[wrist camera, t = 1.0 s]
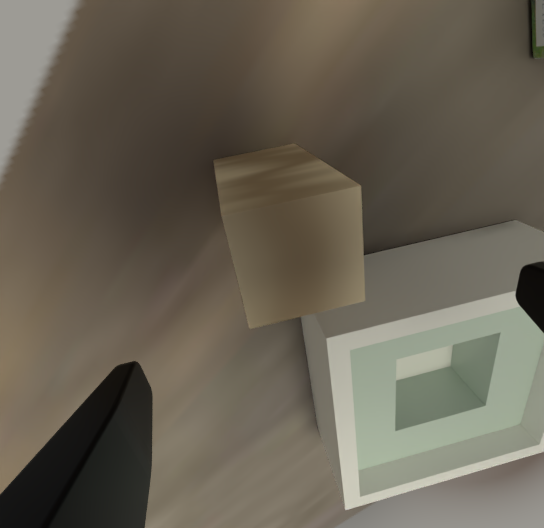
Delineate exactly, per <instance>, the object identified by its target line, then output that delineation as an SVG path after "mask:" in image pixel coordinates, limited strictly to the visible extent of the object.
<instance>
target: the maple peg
mask: <svg viewBox="0 0 544 528" xmlns="http://www.w3.org/2000/svg"><path fill="white" fill-rule="evenodd" d="M213 162H214V169H215V176H216V183H217V189H218V196H219V203H220V210H221V216H222V220H223V224H224V228H225V232H226V236H227V240H228V245H229V249H230V253H231V257H232V261H233V265H234V269H235V273H236V277H237V281H238V285H239V289H240V293H241V297H242V301H243V305H244V309H245V313H246V317H247V321H248V326H249V329H253V328H257V327H261V326H265V325H269V324H273V323H277V322H281V321H286V320H290V319H294V318H298V317H302V316H306V315H310V314H314V313H318V312H322V311H326V310H330V309H335V308H339V307H343V306H347V305H351V304H355V303H359V302H363V301H365V277H364V250H363V223H362V196H361V185H359V184H358V183H356V182H355V181H353V180H352V179H350V178H348V177H347V176H345V175H344V174H342V173H341V172H339V171H337V170H336V169H334V168H333V167H331V166H330V165H328V164H326V163H325V162H323V161H322V160H320V159H319V158H317V157H315V156H314V155H312V154H311V153H309V152H308V151H306V150H304V149H303V148H301V147H300V146H298V145H297V144H295V143H294V144H289V145H284V146H279V147H274V148H269V149H264V150H259V151H254V152H249V153H245V154H240V155H235V156H230V157H225V158H220V159H215V160H213Z"/></svg>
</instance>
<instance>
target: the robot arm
mask: <svg viewBox="0 0 544 528" xmlns="http://www.w3.org/2000/svg"><path fill="white" fill-rule="evenodd" d="M515 296H516V300H517V302H518V304H519V305H520V307H521V308H522V309H523V310H524V311H525V312H526V314H527V315H528V316H529V317H530V318H531V319H532V321H533V322H534V323H535V324H536V325H537V326H538V327H539V329H540V330H541V331H542V332H543V333H544V261H540V262H535V263H531V264H527V265H525V266H523V267H522V269H521V270H520V274H519V279H518V284H517V288H516V293H515ZM151 467H152V390H151V387H150V385H149V383H148V381H147V378H146V376H145V374H144V372H143V370H142V368H141V366H140V364H139V363H138V362H136V361H132V362H128V363H124V364H120V365H118V366H116V367H115V368H114V369H113V370H112V371H111V372H110V374H109V375H108V376H107V377H106V378H105V379H104V380H103V381H102V382H101V384H100V385H99V386H98V387H97V388H96V389H95V390H94V391H93V392H92V394H91V395H90V396H89V397H88V398H87V399H86V400H85V401H84V402H83V403H82V405H81V406H80V407H79V408H78V409H77V410H76V411H75V412H74V413H73V415H72V416H71V417H70V418H69V419H68V420H67V421H66V422H65V423H64V425H63V426H62V427H61V428H60V429H59V430H58V431H57V432H56V433H55V434H54V436H53V437H52V438H51V439H50V440H49V441H48V442H47V443H46V444H45V446H44V447H43V448H42V449H41V450H40V451H39V452H38V453H37V454H36V456H35V457H34V458H33V459H32V460H31V461H30V462H29V463H28V464H27V465H26V467H25V468H24V469H23V470H22V471H21V472H20V473H19V474H18V475H17V477H16V478H15V479H14V480H13V481H12V482H11V483H10V484H9V485H8V487H7V488H6V489H5V490H4V491H3V492H2V493H1V494H0V528H145V520H146V511H147V503H148V495H149V487H150V478H151Z"/></svg>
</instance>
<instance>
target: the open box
mask: <svg viewBox="0 0 544 528" xmlns="http://www.w3.org/2000/svg"><path fill="white" fill-rule="evenodd" d="M540 261H544V232H543V231H540V230H538V229H536V228H533V227H531V226H529V225H526V224H524V223H522V222H519V221H517V220H513V221H509V222H504V223H500V224H496V225H491V226H487V227H483V228H479V229H474V230H470V231H466V232H462V233H457V234H453V235H449V236H444V237H440V238H436V239H432V240H427V241H423V242H419V243H415V244H410V245H406V246H402V247H398V248H393V249H389V250H385V251H380V252H376V253H372V254H368V255H364V277H365V301H363V302H359V303H355V304H351V305H347V306H343V307H339V308H335V309H330V310H326V311H322V312H318V313H314V314H310V315H306V316H302V317H301V324H302V330H303V337H304V343H305V350H306V356H307V363H308V370H309V376H310V383H311V389H312V396H313V402H314V409H315V416H316V422H317V428H318V430H319V433H320V436H321V439H322V442H323V445H324V448H325V451H326V454H327V457H328V460H329V463H330V466H331V469H332V472H333V475H334V478H335V481H336V484H337V487H338V490H339V493H340V496H341V499H342V502H343V505H344V508H345V510H348V509H351V508H354V507H358V506H361V505H365V504H368V503H371V502H375V501H378V500H382V499H385V498H388V497H392V496H395V495H399V494H402V493H405V492H408V491H412V490H415V489H419V488H422V487H426V486H429V485H432V484H436V483H439V482H443V481H446V480H449V479H453V478H456V477H459V476H463V475H466V474H470V473H473V472H476V471H480V470H483V469H487V468H490V467H493V466H497V465H500V464H503V463H507V462H510V461H514V460H517V459H520V458H524V457H527V456H531V455H534V454H537V453H540V452H544V333H543V332H542V331H541V330H540V329H539V327H538V326H537V325H536V324H535V323H534V322H533V321H532V319H531V318H530V317H529V316H528V315H527V314H526V312H525V311H524V310H523V309H522V308H521V307H520V305H519V304H518V302H517V300H516V296H515V293H516V288H517V284H518V279H519V274H520V270H521V269H522V267H523V266H525V265H527V264H531V263H535V262H540Z"/></svg>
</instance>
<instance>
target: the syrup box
mask: <svg viewBox="0 0 544 528" xmlns="http://www.w3.org/2000/svg"><path fill="white" fill-rule="evenodd" d="M531 6H532V45H533V57H534V58H536V59H540V58H544V0H531Z"/></svg>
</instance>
